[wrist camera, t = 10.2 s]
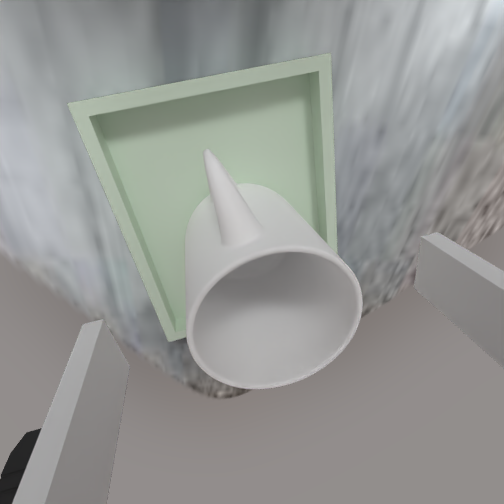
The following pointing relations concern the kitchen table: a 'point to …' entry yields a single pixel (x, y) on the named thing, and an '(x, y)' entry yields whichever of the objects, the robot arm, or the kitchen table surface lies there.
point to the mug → (262, 288)
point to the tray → (225, 149)
